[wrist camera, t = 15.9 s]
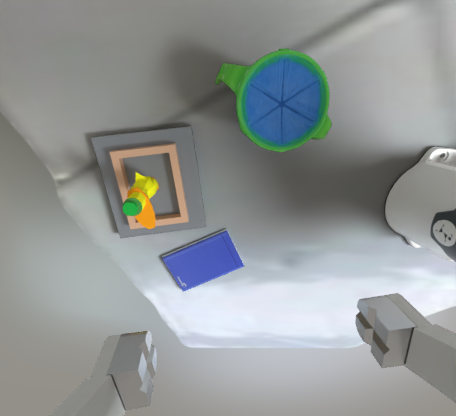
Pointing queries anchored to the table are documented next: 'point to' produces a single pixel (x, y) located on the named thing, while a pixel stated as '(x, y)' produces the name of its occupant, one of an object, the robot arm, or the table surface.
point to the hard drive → (203, 260)
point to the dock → (154, 167)
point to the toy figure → (141, 200)
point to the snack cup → (280, 99)
